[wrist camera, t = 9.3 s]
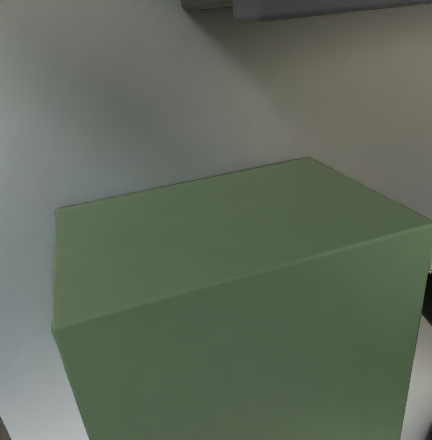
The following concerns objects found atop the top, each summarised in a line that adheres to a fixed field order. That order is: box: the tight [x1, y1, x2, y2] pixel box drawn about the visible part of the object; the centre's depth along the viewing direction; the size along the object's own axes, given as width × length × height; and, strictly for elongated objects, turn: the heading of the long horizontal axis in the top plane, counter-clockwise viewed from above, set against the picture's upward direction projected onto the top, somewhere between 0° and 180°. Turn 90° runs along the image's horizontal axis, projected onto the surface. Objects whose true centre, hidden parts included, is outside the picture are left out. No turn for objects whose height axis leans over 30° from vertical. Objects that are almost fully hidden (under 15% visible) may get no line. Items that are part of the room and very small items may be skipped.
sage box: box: [51, 157, 432, 440], centre depth 9 cm, size 6×6×4 cm
